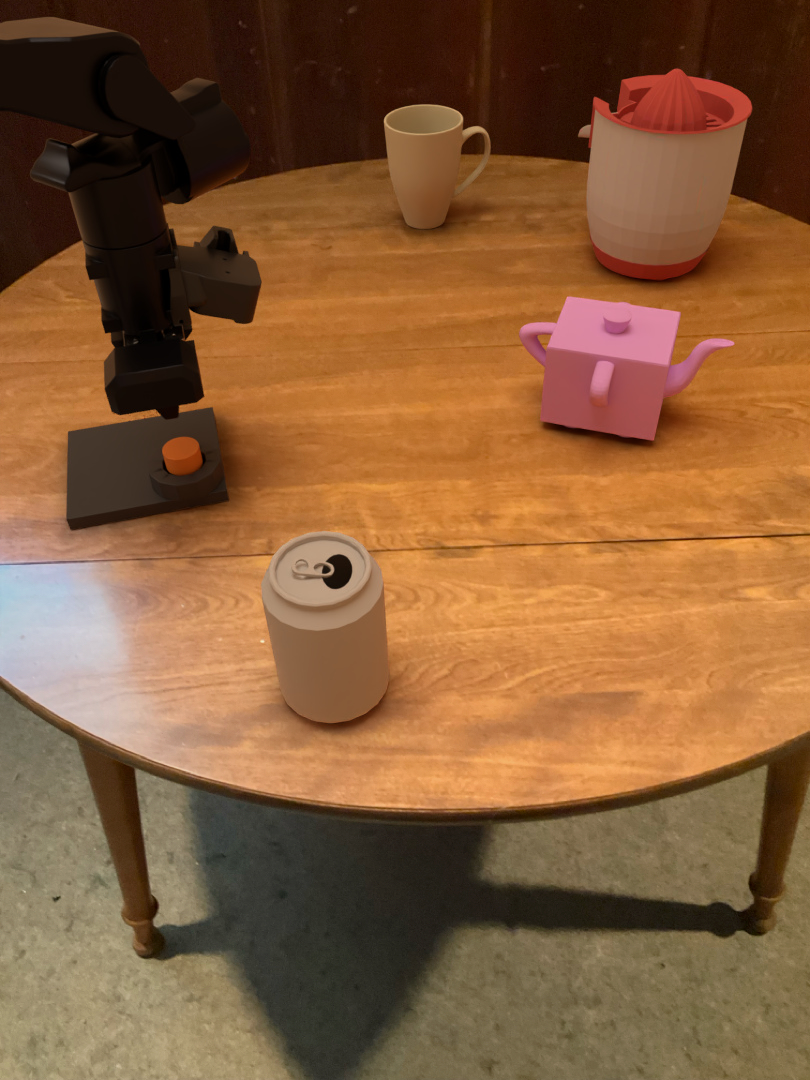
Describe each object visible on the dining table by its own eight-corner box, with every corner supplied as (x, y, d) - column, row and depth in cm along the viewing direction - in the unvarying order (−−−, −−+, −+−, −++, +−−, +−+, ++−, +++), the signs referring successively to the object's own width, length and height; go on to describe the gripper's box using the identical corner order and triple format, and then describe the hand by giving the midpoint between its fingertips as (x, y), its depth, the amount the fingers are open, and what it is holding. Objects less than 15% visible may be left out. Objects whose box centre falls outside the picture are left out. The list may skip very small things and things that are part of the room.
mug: (437, 246, 108) (437, 142, 100) (373, 223, 113) (367, 122, 104) (491, 212, 114) (495, 111, 106) (428, 192, 119) (427, 93, 110)
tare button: (167, 479, 76) (163, 462, 74) (165, 456, 78) (161, 440, 77) (204, 472, 76) (200, 455, 75) (201, 450, 78) (197, 433, 77)
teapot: (719, 388, 87) (743, 291, 80) (704, 482, 77) (730, 381, 70) (530, 358, 91) (538, 264, 84) (495, 444, 82) (500, 345, 75)
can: (388, 730, 61) (380, 611, 52) (275, 731, 61) (248, 611, 53) (391, 641, 66) (384, 520, 58) (287, 642, 66) (264, 521, 58)
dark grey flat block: (70, 533, 75) (59, 506, 73) (71, 441, 84) (61, 415, 82) (229, 504, 77) (223, 477, 75) (214, 417, 86) (209, 390, 84)
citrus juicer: (606, 209, 114) (629, 31, 99) (740, 248, 106) (786, 60, 92) (537, 260, 105) (551, 73, 91) (678, 307, 97) (717, 109, 83)
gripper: (261, 278, 57) (290, 471, 68) (228, 160, 70) (257, 338, 81) (77, 305, 55) (137, 499, 66) (78, 180, 68) (128, 359, 79)
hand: (171, 416), depth 73 cm, fingers closed
